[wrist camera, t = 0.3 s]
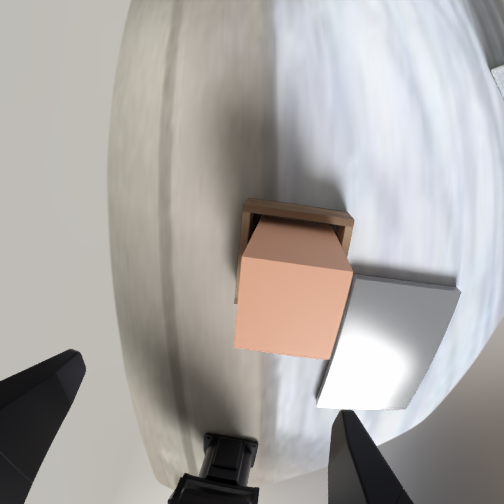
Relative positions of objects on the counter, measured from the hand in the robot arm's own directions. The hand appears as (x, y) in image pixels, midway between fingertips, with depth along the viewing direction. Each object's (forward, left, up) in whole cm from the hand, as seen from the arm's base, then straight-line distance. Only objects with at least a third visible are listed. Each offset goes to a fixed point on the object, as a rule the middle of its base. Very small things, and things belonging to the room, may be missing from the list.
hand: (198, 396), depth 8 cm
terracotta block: (0, -3, -15) cm, 15 cm away
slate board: (-8, -13, -15) cm, 21 cm away
